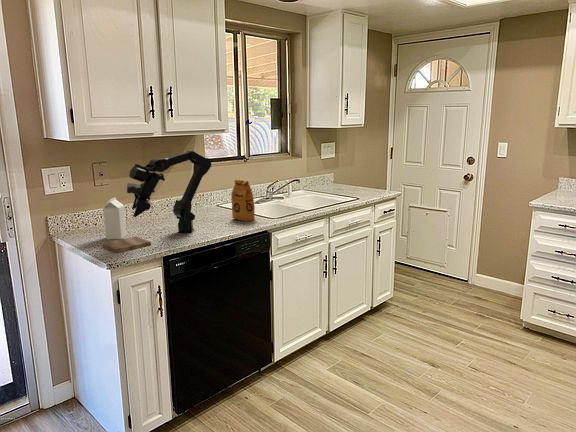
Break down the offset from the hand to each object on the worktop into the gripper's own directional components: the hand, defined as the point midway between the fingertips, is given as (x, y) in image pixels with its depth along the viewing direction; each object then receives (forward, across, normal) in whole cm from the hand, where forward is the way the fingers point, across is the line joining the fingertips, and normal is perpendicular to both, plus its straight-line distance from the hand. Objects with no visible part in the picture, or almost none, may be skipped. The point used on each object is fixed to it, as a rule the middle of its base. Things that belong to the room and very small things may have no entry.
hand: (133, 212), depth 202 cm
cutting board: (+10, +14, +1) cm, 17 cm away
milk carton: (+16, -2, 0) cm, 16 cm away
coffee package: (-16, -14, +57) cm, 61 cm away
